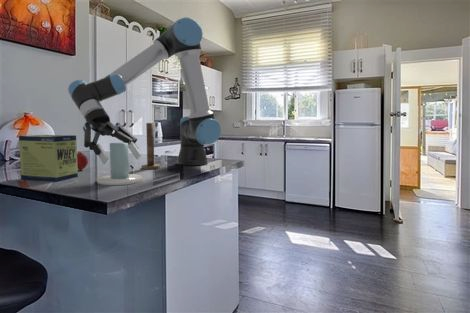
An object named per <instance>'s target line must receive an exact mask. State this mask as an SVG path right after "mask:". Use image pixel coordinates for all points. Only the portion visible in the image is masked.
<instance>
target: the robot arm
mask: <svg viewBox="0 0 470 313" xmlns="http://www.w3.org/2000/svg"><path fill="white" fill-rule="evenodd" d="M202 39H203V29H202V27H201V25H200V24H199V23H198V21H196V20H195V19H193V18H191V17H188V16H187V17H182V18H180V19H177V20H176V21H175V22H174V23H173V24H171V25H169V26H168V27H167V28H166V29H165V31H163V33H161V34H160V36H158V37H157V38H155V39H154V40H153V43H152V44H151V45H150V46H148V47H147V48H145V49H144V50H142V51H141V52H139V53H138V54H137V55H135V56H134V57H132V58H130V59H129V60H128V61H126V62H125V63H124V64H121V66H119V67H118V68H116V69H115V70H114V71H112V72H111V73H109V74H108V75H106V76H105V77H102V78H101V79H98V80H95V81H92V82H89V83H88V82H87V81H85V80H83V79H77V80H73V81H72V82H70V84H69V85H68V88H67V89H68V90H67V91H68V94H69V95H70V97H71V100H72V102H74V104H75V106H76V107H77V109H78V111H79V112H80V114H81V115H82V116H83V119H85V123H84V125H83V127H82V129H83V132H84V135H83V136H84V139H83V140H84V142H83V147H84V148H87V149H89V150H90V151H93V152H94V154H95V155H96V156H98V158H99V159H100V161H101V162H102V164H103V165H105V164H107V161H108V160H110V157H109V156H108V155H107V152H106V151H105V150H104V148H103V147H102V145H101V144H100V143H98V141H99V139H100V136H101V137H103V136H104V137H105V136H110V137H112V138H116V139H117V140H119V141H121V142H122V143H128V150H129V151H130V152H131V153H132V155H133V157H134V158H135V160H137V161H138V160H139V159H140V158H141V157H142V153H141V152H140V150H139V147H138V146H137V144H136V143H137V141H138V137H135V135H134V134H132V133H130V131H128V130H127V129H126V128H125V127H123V125H122V124H121V123H119V122H116V123H115V124H113V123H112V122H111V120H110V116H109V115H108V112H107V111H106V110H105V108H104V107H103V105H102V104H101V102H102V101H105V100H108V99H110V98H114V97H115V96H117V95H118V96H119V95H121V94H123V93H125V92H126V91H127V86H128V85H129V84H130V83H132V82H133V81H135V80H136V79H137V78H139V77H140V76H142V75H143V74H144V73H146V72H147V71H149V70H150V69H152V68H153V67H154V66H155V65H157V64H158V63H160V62H162V61H163V60H168V59H169V58H171V57H172V56H174V55H175V57H177V58H178V60H179V63H180V68H181V73H182V78H183V82H184V87H185V94H186V96H187V102H188V106H189V110H190V113H189V115H186V116H182V117H181V118H180V122H179V126H180V128H179V129H180V136H179V137H180V139H179V140H180V149H179V152H178V156H177V159H176V163H177V165H179V166H180V165H181V166H203V165H207V163H208V161H209V160H208V157H207V154H206V150H205V146H207V145H212V144H215V143H216V142H217V141H218V139H219V138H220V137H221V133H222V127H221V125H220V123H219V122H218V120H216V119H215V118H216V117H215V113H214V111H212V110H211V109H210V105H209V102H208V95H207V90H206V85H205V79H204V76H203V70H202V65H201V59H200V54H201V52H202V47H201V42H202ZM92 131H93V132H95V133H94V137H93V139H92Z"/></svg>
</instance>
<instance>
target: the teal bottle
mask: <svg viewBox="0 0 470 313" xmlns="http://www.w3.org/2000/svg"><path fill="white" fill-rule="evenodd" d="M128 146H129V145H128V143H124V142H110V143H109V164H110V166H109V167H110V175H111V179H126V178H129V174H130V166H129V164H130V161H129V156H130V155H129V147H128Z"/></svg>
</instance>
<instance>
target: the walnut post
mask: <svg viewBox="0 0 470 313" xmlns="http://www.w3.org/2000/svg"><path fill="white" fill-rule="evenodd" d="M145 127H146V164H142V165H141V170H158V169H161V165H160V164H157V163H155V142H154V141H155V135H154V134H155V133H154V132H155V131H154V130H155V129H154V122H146V126H145Z"/></svg>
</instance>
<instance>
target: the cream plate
mask: <svg viewBox="0 0 470 313" xmlns="http://www.w3.org/2000/svg"><path fill="white" fill-rule="evenodd" d="M143 180H144V179H143V176H142V175H139V174H137V173H136V174H135V173H134V174H133V173H129V178H126V179H111V174H107V175H101V176H99V177H97V178H96V183H97V184H98V185H103V186H124V185H125V186H127V185H132V184H138V183H141V182H143Z"/></svg>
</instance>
